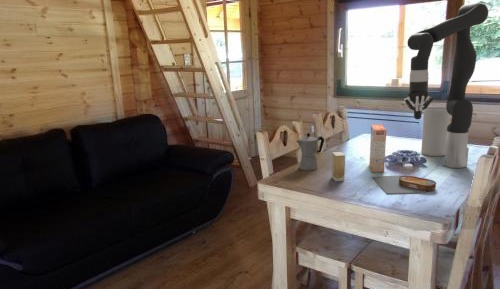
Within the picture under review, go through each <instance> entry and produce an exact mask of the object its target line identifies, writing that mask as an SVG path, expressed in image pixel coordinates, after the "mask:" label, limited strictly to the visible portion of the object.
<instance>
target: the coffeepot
mask: <svg viewBox="0 0 500 289" xmlns="http://www.w3.org/2000/svg"><path fill="white" fill-rule="evenodd" d="M318 141H320V144H319V146H318ZM324 142H325V138H324V137H323V136H315V137H313V136H311V133H310V132H307V133H306V136H304V137H301V138H298V139H297V140H296V143H297V144H298V145H299V148H300V150H301V151H300V152H301V156H300V161H299V169H300V170H303V171H315V170H318V163H317V157H316V153H321V152H322V149H323V146H324V144H325V143H324ZM317 147H318V150H317Z"/></svg>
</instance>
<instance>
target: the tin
mask: <svg viewBox="0 0 500 289" xmlns="http://www.w3.org/2000/svg"><path fill="white" fill-rule="evenodd" d="M399 184H400V185H402V186H405V187H409V188H414V189H418V190H423V191H426V192H430V191H434V190H436V189H437V188H436V187H437V182H436V181H435V180H433V179H429V178H424V177H419V176H413V175H407V176H400V177H399Z"/></svg>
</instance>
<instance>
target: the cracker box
mask: <svg viewBox="0 0 500 289" xmlns="http://www.w3.org/2000/svg"><path fill="white" fill-rule="evenodd" d="M386 141H387V129H386V128H385V126H384V124H371V125H370V145H369V147H370V148H369V167H370V169H371V172H372V173H385V163H386V162H385V160H386V144H387V143H386Z"/></svg>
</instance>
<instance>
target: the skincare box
mask: <svg viewBox="0 0 500 289" xmlns="http://www.w3.org/2000/svg"><path fill="white" fill-rule="evenodd" d="M331 153H332V154H331V157H332V158H331V178H332V179H333V180H334V181H335V182H344V181H345V174H346V173H345V172H346V171H345V170H346V155H345V153H343V152H342V151H333V152H331Z"/></svg>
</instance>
